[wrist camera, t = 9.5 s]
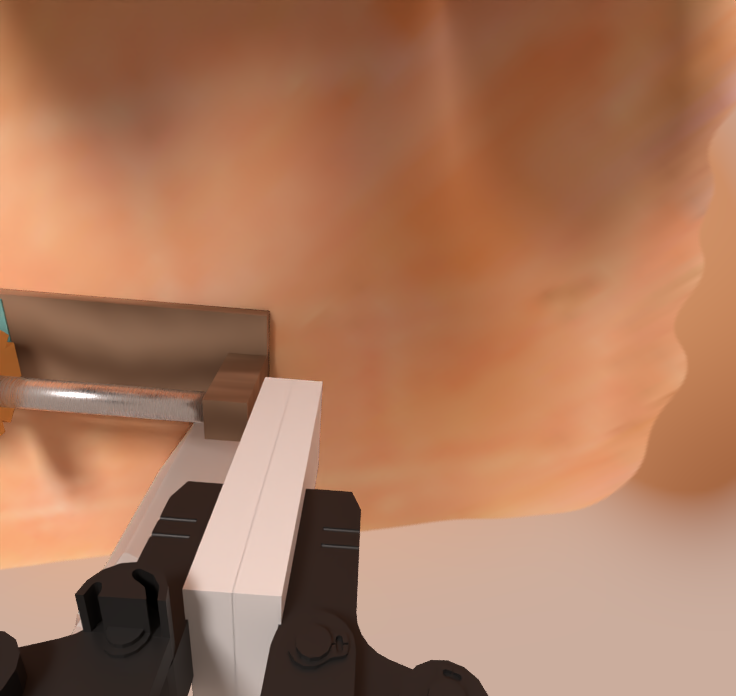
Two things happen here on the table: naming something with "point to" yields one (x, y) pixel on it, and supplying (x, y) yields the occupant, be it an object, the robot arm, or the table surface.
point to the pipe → (101, 399)
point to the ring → (7, 372)
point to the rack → (145, 348)
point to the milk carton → (172, 489)
